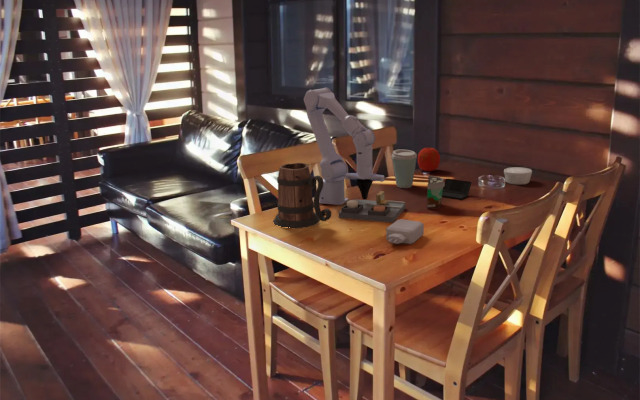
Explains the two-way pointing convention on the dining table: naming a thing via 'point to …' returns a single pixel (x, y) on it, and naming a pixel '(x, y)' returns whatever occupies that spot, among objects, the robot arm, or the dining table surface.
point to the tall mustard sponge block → (381, 198)
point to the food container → (434, 192)
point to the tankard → (298, 197)
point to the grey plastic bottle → (404, 231)
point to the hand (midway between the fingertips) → (364, 198)
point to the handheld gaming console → (456, 189)
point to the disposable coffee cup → (404, 167)
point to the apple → (428, 159)
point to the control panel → (368, 213)
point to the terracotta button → (379, 208)
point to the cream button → (352, 204)
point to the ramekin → (517, 175)
